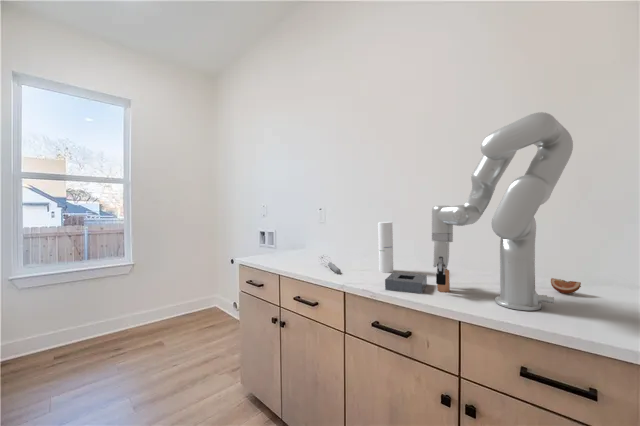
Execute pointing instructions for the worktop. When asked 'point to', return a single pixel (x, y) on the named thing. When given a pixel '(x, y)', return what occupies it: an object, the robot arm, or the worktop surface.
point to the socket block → (406, 282)
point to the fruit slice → (565, 285)
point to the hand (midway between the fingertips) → (442, 281)
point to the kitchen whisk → (332, 266)
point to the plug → (447, 286)
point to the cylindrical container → (385, 246)
